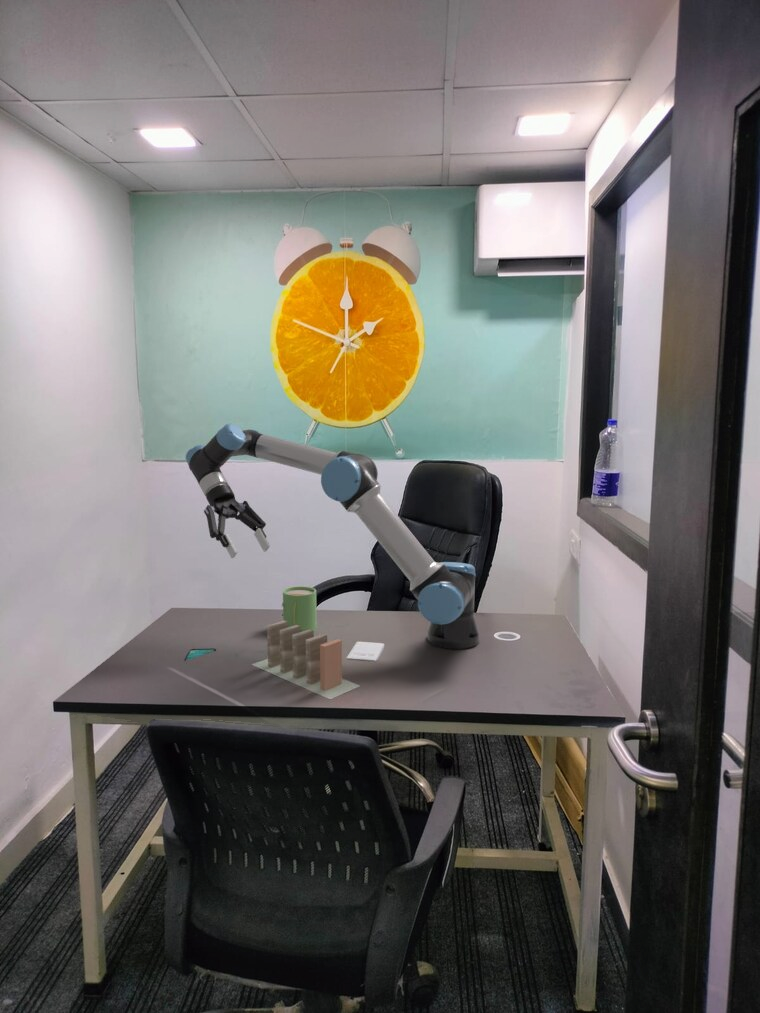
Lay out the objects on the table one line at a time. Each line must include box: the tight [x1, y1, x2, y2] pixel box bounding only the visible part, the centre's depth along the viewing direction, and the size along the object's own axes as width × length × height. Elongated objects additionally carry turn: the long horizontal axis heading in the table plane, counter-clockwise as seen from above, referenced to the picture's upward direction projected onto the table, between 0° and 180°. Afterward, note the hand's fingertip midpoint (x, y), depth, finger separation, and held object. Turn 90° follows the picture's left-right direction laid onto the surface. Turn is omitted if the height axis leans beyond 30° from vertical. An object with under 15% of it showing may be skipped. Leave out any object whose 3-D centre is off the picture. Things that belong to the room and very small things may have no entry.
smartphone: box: [184, 648, 217, 661], centre depth 173 cm, size 7×1×15 cm
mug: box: [281, 585, 318, 632], centre depth 196 cm, size 13×10×12 cm
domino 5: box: [320, 638, 343, 691], centre depth 155 cm, size 2×6×11 cm, turn 138°
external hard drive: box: [345, 641, 385, 662], centre depth 178 cm, size 2×8×12 cm
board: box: [251, 658, 360, 700], centre depth 162 cm, size 30×10×1 cm, turn 48°
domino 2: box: [280, 625, 301, 673], centre depth 165 cm, size 2×6×11 cm, turn 138°
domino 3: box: [292, 629, 315, 679], centre depth 161 cm, size 2×6×11 cm, turn 138°
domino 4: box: [306, 633, 328, 685], centre depth 158 cm, size 2×6×11 cm, turn 138°
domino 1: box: [266, 620, 288, 668], centre depth 168 cm, size 2×6×11 cm, turn 138°
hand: (251, 552), depth 180 cm, fingers open, 10 cm apart
